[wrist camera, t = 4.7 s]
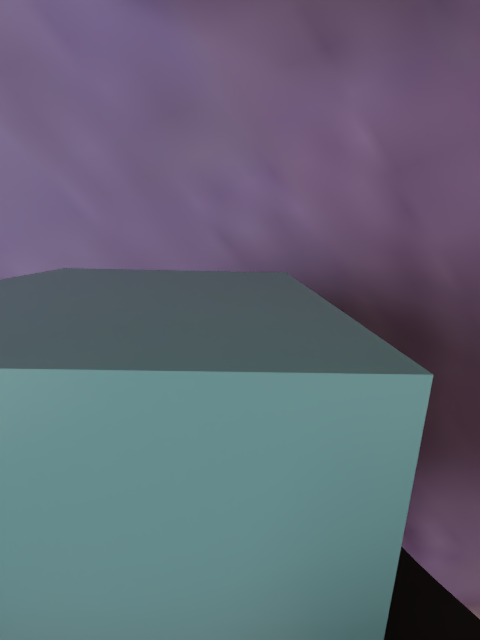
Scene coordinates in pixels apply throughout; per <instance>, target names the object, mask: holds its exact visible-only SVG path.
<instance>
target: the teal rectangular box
mask: <svg viewBox="0 0 480 640" xmlns="http://www.w3.org/2000/svg"><path fill="white" fill-rule="evenodd" d="M432 380H433V374H432V373H430V372H429V371H427V370H426V369H425V368H423V367H422V366H420V365H419V364H417V363H416V362H414V361H413V360H412V359H410V358H409V357H407V356H406V355H404V354H403V353H401V352H400V351H399V350H397V349H396V348H394V347H393V346H391V345H390V344H389V343H387V342H386V341H384V340H383V339H381V338H380V337H378V336H377V335H376V334H374V333H373V332H371V331H370V330H368V329H367V328H366V327H364V326H363V325H361V324H360V323H358V322H357V321H355V320H354V319H353V318H351V317H350V316H348V315H347V314H345V313H344V312H342V311H341V310H340V309H338V308H337V307H335V306H334V305H332V304H331V303H330V302H328V301H327V300H325V299H324V298H322V297H321V296H319V295H318V294H317V293H315V292H314V291H312V290H311V289H309V288H308V287H307V286H305V285H304V284H302V283H301V282H299V281H298V280H296V279H295V278H294V277H292V276H291V275H289V274H288V273H279V272H228V271H177V270H126V269H75V268H63V269H58V270H52V271H46V272H41V273H35V274H30V275H24V276H18V277H13V278H7V279H2V280H0V640H384V635H385V630H386V625H387V619H388V614H389V609H390V603H391V598H392V593H393V587H394V582H395V577H396V571H397V566H398V561H399V556H400V550H401V545H402V540H403V534H404V529H405V524H406V518H407V513H408V508H409V502H410V497H411V492H412V487H413V481H414V476H415V471H416V465H417V460H418V455H419V449H420V444H421V439H422V433H423V428H424V423H425V417H426V412H427V407H428V402H429V396H430V391H431V386H432Z"/></svg>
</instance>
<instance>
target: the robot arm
mask: <svg viewBox="0 0 480 640" xmlns="http://www.w3.org/2000/svg"><path fill="white" fill-rule="evenodd" d="M384 640H480V619H479V618H477V617H476V616H475V615H474V614H473V613H472V612H471V611H470V610H469V609H467V608H466V607H465V606H464V605H463V604H462V603H461V602H460V601H458V600H457V599H456V598H455V597H454V596H453V595H452V594H451V593H450V592H448V591H447V590H446V589H445V588H444V587H443V586H442V585H441V584H440V583H438V582H437V581H436V580H435V579H434V578H433V577H432V576H431V575H430V574H429V573H428V572H427V571H426V570H425V569H424V568H422V567H421V566H420V565H419V564H418V563H417V562H416V561H415V560H414V559H413V558H412V557H411V556H410V555H409V554H408V553H407V552H406V551H405V550H404V549H403V548H402V547H401V550H400V556H399V561H398V566H397V571H396V577H395V582H394V587H393V593H392V598H391V603H390V609H389V614H388V619H387V625H386V630H385V635H384Z"/></svg>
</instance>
